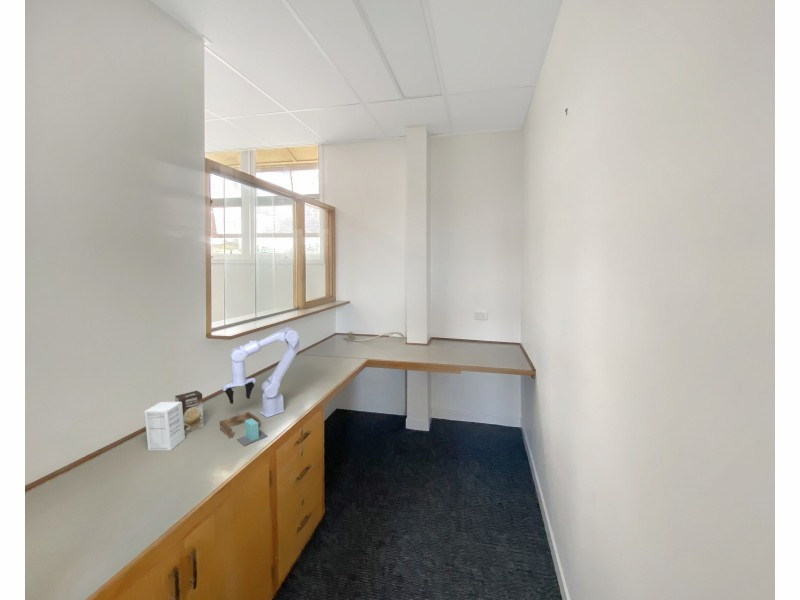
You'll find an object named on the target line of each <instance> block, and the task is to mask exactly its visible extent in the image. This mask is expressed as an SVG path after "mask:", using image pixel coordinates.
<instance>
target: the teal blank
mask: <svg viewBox="0 0 800 600" xmlns="http://www.w3.org/2000/svg"><path fill="white" fill-rule="evenodd" d="M244 433H245V435H244V436H246V437H247V438H249V439H250V440H251V441H253V440H256V439H258V438H259V428H258V422H256V421H255V420H253V419H252V418H251V419H248V420H245V422H244Z"/></svg>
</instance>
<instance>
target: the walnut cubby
mask: <svg viewBox="0 0 800 600" xmlns="http://www.w3.org/2000/svg"><path fill="white" fill-rule="evenodd" d="M251 418H252V419H253V420H255V421H256V422H258V429H259V428H260V418H259V417H257V416H256V415H254V414H252V413H251V412H250V411H246V412H244V413H240V414H238V415H235V416H232V417H231V416H230V417H229V418H226V419H222V420H220V421H219V430H220V431H221V432H222V433H223V434H224V435H226V437H227V438H229V439H232V438H233V428H231V427H235V426H237V425H241V424H243V423H244V424H245V420H248V419H251Z"/></svg>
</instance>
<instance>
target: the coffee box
mask: <svg viewBox="0 0 800 600" xmlns="http://www.w3.org/2000/svg"><path fill="white" fill-rule="evenodd" d="M174 402H182V409H183V420H184V432H185V434H187V433H190V432H193V431H196V430H199V429H202V428H204V426H205V425H204V424H205V423H204V409H203V408H204V406H203V393H202V392H200V391H199V390H194V391H190V392H186V393H182V394H178V395H174Z"/></svg>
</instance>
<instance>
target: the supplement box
mask: <svg viewBox="0 0 800 600" xmlns="http://www.w3.org/2000/svg"><path fill="white" fill-rule="evenodd" d="M144 420H145V433H146V440H147V441H146V442H147V451H148V452H149V451H153V452H154V451H156V452H157V451H161V452H166V451H168V452H169V451H172V450H173V449H175V448H176V447H178V445H179V444H181V443H182V442H183V441H185V440H186V436H185V434H186V433H185V432H184V420H183V409H182V402H175V401H160V402H157V403H156V404H155V405H153V406H151V407H149V408H148V409H145V410H144Z"/></svg>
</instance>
